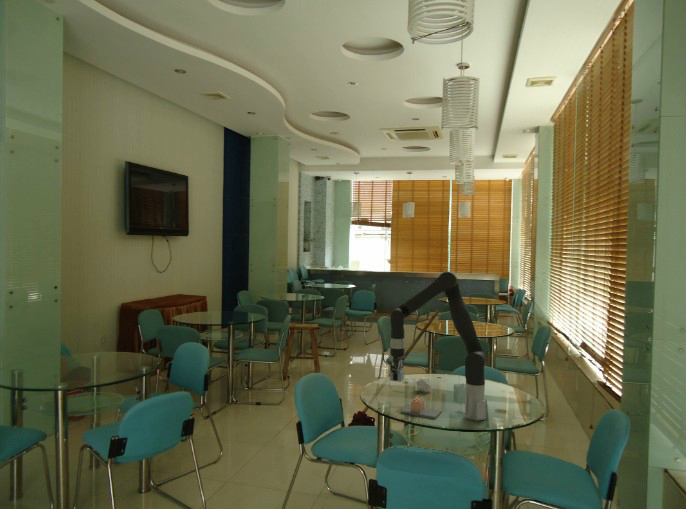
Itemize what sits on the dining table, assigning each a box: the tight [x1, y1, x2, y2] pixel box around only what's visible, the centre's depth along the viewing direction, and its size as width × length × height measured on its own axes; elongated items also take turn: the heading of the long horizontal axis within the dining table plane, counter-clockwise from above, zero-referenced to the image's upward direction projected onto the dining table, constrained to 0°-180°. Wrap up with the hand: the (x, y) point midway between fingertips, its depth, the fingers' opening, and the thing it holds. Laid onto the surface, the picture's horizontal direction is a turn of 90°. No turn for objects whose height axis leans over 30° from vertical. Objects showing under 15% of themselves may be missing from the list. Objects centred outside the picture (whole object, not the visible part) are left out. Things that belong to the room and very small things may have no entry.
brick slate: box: [389, 369, 405, 383], centre depth 270 cm, size 6×5×6 cm
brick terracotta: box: [410, 396, 425, 412], centre depth 265 cm, size 6×5×6 cm
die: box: [415, 376, 433, 393], centre depth 303 cm, size 8×9×10 cm
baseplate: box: [400, 404, 443, 420], centre depth 264 cm, size 18×11×1 cm, turn 63°
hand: (397, 379), depth 270 cm, fingers closed on brick slate, 5 cm apart
